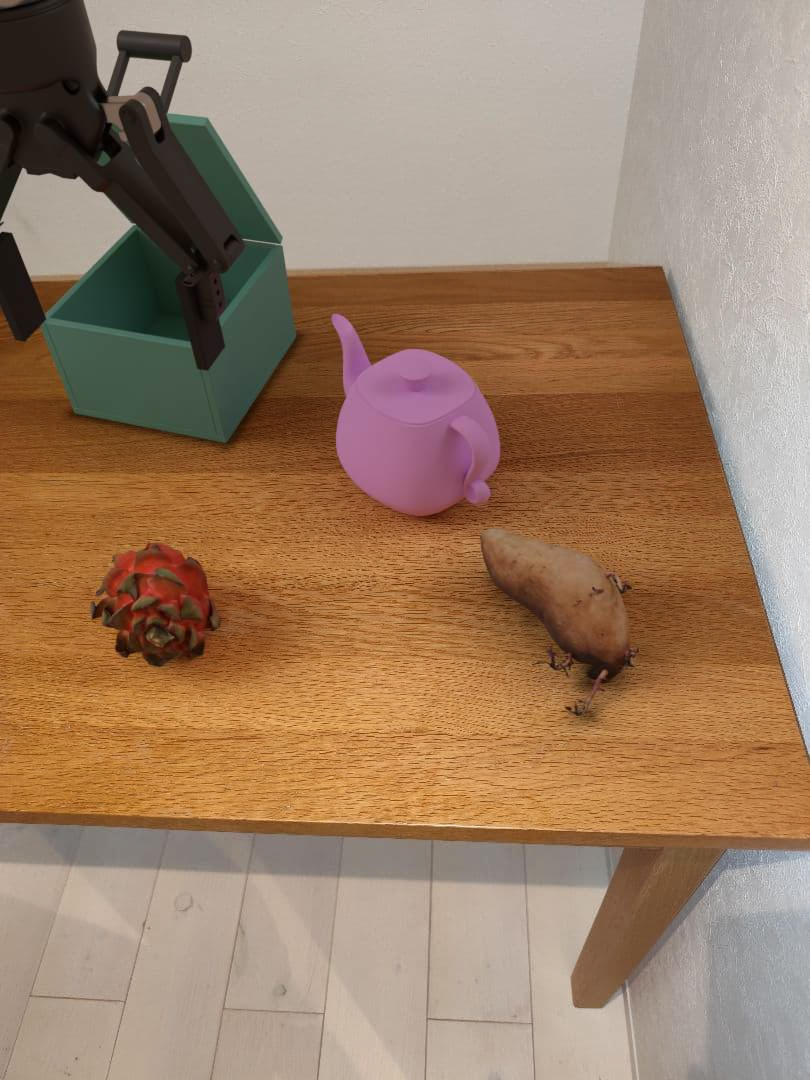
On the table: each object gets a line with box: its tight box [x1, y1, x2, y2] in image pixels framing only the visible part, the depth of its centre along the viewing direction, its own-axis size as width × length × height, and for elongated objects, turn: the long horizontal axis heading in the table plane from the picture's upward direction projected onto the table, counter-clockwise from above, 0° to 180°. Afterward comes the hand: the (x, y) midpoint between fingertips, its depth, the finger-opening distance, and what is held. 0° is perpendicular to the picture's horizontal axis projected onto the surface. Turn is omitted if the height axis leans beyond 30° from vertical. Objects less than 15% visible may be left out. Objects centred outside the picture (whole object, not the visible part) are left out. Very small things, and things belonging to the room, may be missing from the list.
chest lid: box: [97, 29, 284, 245], centre depth 81 cm, size 18×17×9 cm
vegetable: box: [479, 527, 640, 717], centre depth 66 cm, size 16×11×10 cm
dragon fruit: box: [89, 542, 222, 668], centre depth 68 cm, size 8×8×12 cm
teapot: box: [331, 313, 501, 517], centre depth 77 cm, size 20×13×12 cm, turn 41°
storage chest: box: [39, 224, 297, 444], centre depth 88 cm, size 18×17×11 cm
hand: (119, 343), depth 60 cm, fingers open, 13 cm apart
